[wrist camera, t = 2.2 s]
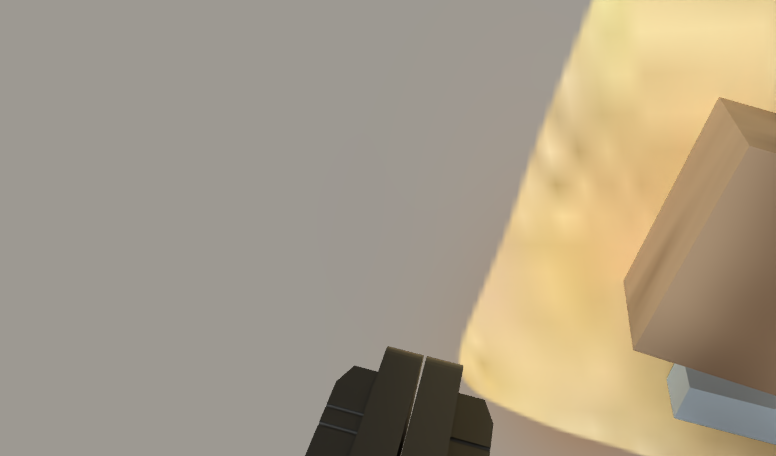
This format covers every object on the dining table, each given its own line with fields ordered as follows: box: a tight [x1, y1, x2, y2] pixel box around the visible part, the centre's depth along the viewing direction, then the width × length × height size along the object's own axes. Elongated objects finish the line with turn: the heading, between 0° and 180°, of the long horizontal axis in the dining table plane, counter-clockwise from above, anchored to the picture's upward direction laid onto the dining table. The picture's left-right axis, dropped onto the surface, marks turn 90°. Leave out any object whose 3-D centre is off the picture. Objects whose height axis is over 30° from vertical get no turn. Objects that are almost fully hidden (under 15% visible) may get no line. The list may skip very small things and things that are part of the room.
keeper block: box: [624, 97, 776, 396], centre depth 19 cm, size 6×7×4 cm
